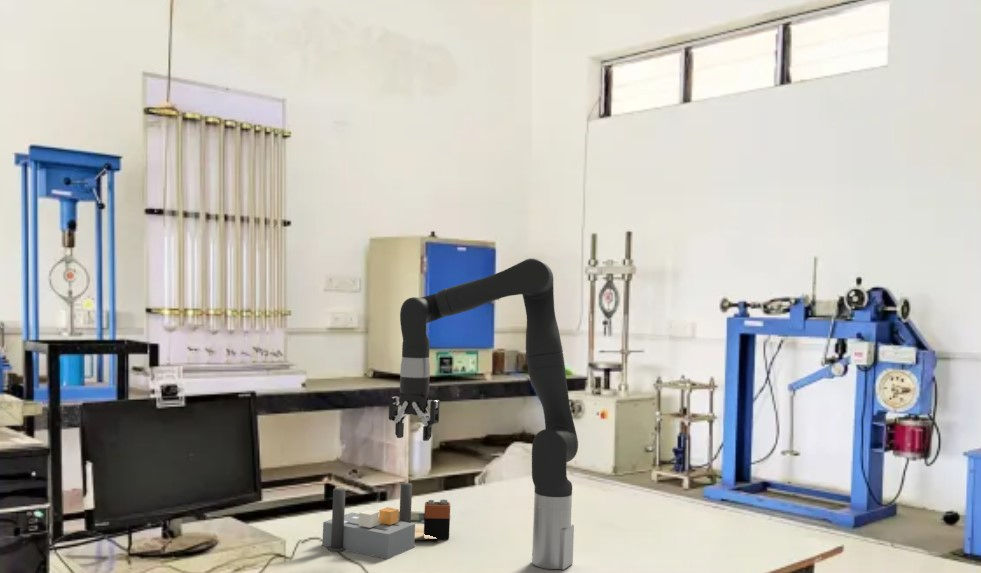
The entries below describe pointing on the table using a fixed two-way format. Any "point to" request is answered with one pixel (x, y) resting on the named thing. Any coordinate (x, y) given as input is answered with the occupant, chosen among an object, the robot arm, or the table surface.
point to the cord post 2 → (405, 502)
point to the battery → (437, 519)
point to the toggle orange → (388, 516)
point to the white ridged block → (368, 518)
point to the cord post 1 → (337, 520)
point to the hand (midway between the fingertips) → (412, 439)
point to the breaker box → (373, 537)
